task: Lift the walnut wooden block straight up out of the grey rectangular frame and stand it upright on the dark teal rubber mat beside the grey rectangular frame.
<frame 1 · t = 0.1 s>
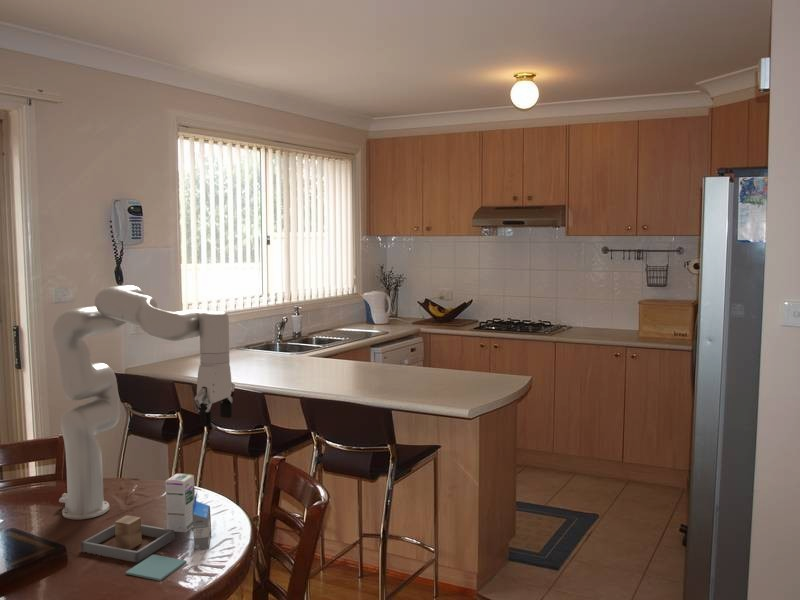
hand: (216, 421, 192), 31 cm above the table, tool pointing down, fingers open, 9 cm apart
wooden block: (128, 532, 187), in the grey rectangular frame
grey rectangular frame: (128, 545, 187), on the table
label tape box: (202, 543, 189), on the table
mat: (156, 568, 175), on the table
syrup box: (181, 528, 199), on the table
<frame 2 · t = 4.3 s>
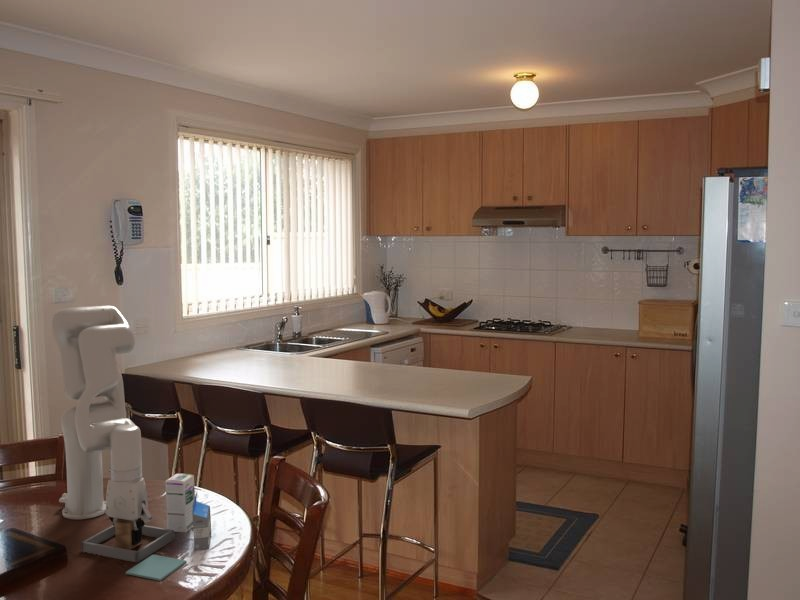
hand: (128, 541, 187), 1 cm above the table, tool pointing down, fingers closed on wooden block, 4 cm apart
wooden block: (128, 532, 187), in the grey rectangular frame, touching gripper
everything else where it was.
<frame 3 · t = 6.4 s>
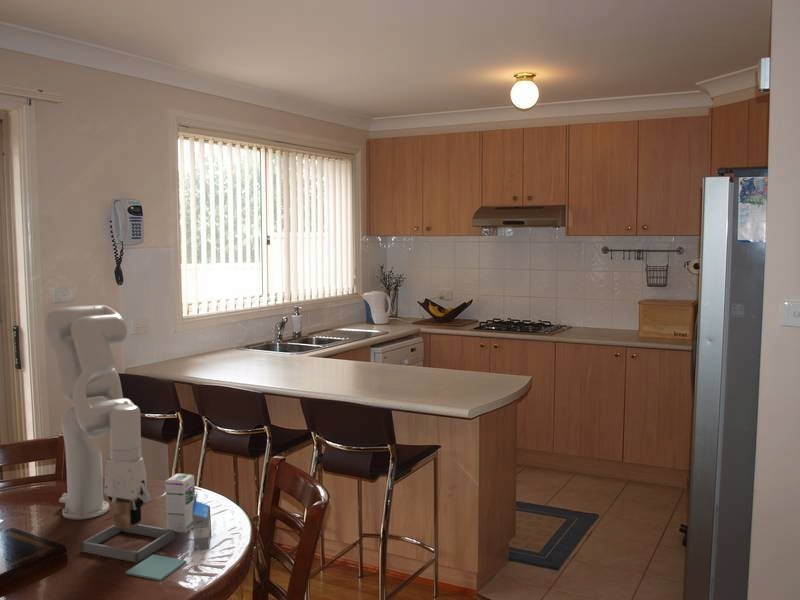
hand: (127, 520, 187), 7 cm above the table, tool pointing down, fingers closed on wooden block, 4 cm apart
wooden block: (127, 512, 187), point 9 cm above the table, touching gripper
everything else where it was.
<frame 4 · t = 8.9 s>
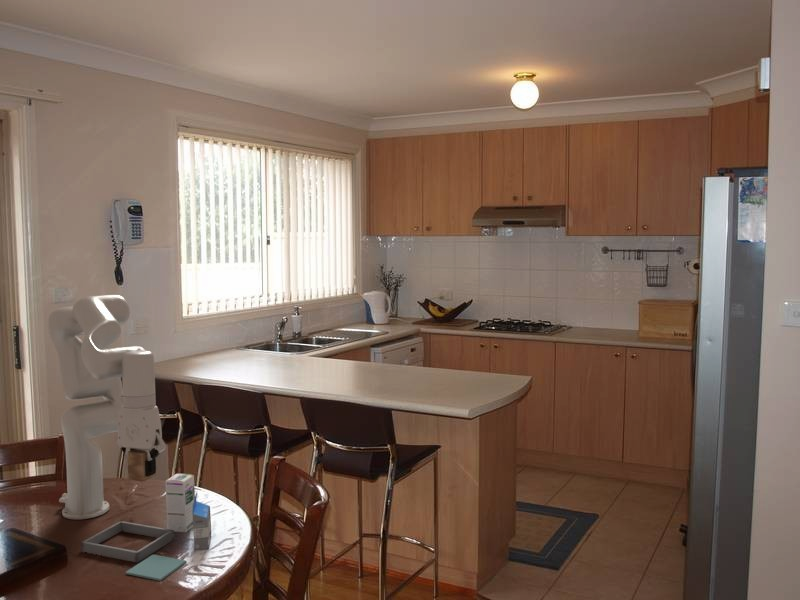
hand: (142, 473, 178), 22 cm above the table, tool pointing down, fingers closed on wooden block, 4 cm apart
wooden block: (141, 463, 178), point 24 cm above the table, touching gripper
everything else where it was.
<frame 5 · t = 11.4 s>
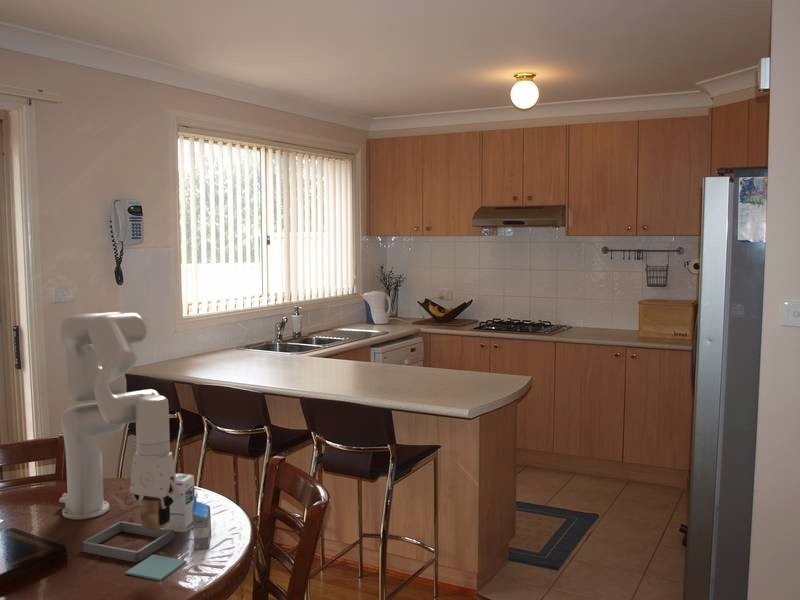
hand: (155, 520, 174), 12 cm above the table, tool pointing down, fingers closed on wooden block, 4 cm apart
wooden block: (155, 511, 173), point 14 cm above the table, touching gripper
everything else where it was.
when the fingers open (3 cm above the table, at t = 13.8 s): wooden block drops 1 cm, resting on mat.
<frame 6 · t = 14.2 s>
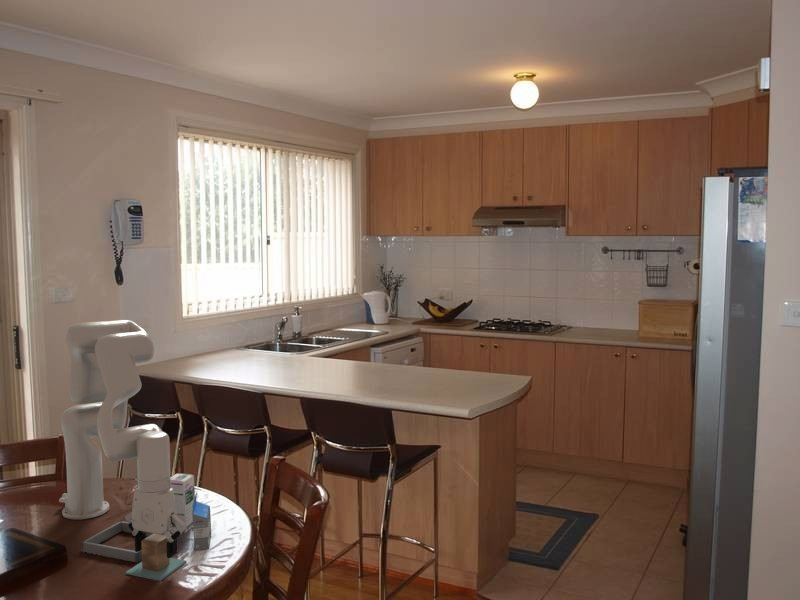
hand: (156, 552, 175), 4 cm above the table, tool pointing down, fingers open, 8 cm apart
wooden block: (155, 552, 175), on the mat
everything else where it was.
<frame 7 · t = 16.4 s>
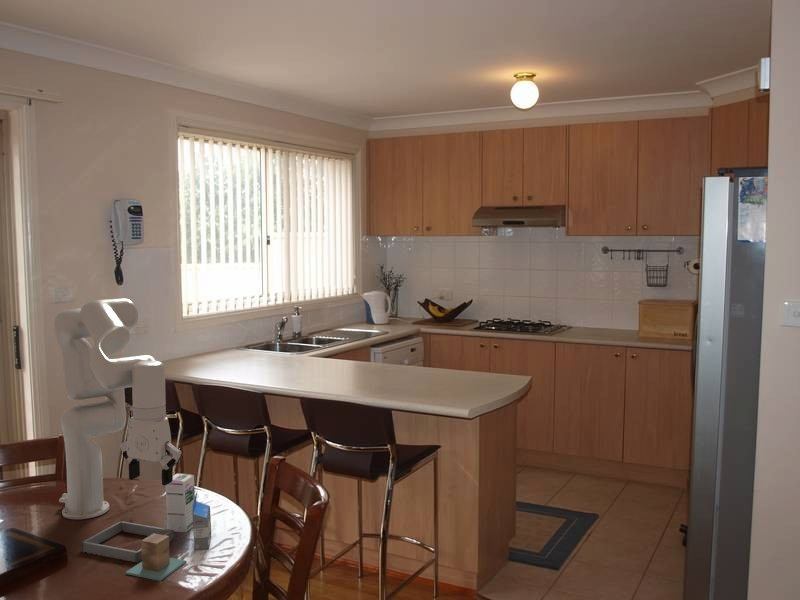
hand: (150, 480, 175), 21 cm above the table, tool pointing down, fingers open, 9 cm apart
nothing on the table moved.
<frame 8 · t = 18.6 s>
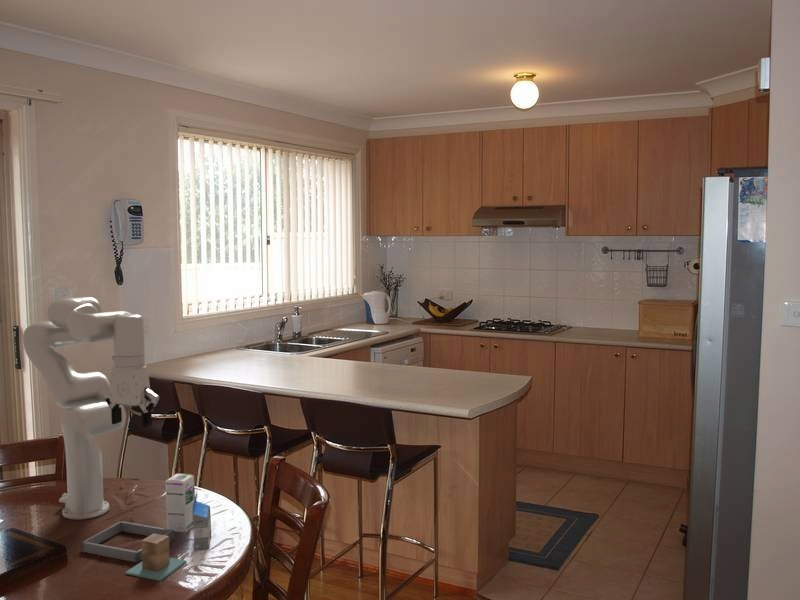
hand: (131, 424, 191), 30 cm above the table, tool pointing down, fingers open, 9 cm apart
nothing on the table moved.
at the end: wooden block inside the target area on the mat (0.2 cm from its centre), point 4.0 cm above the mat's base; wooden block tilted 0°; the gripper is holding nothing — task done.
